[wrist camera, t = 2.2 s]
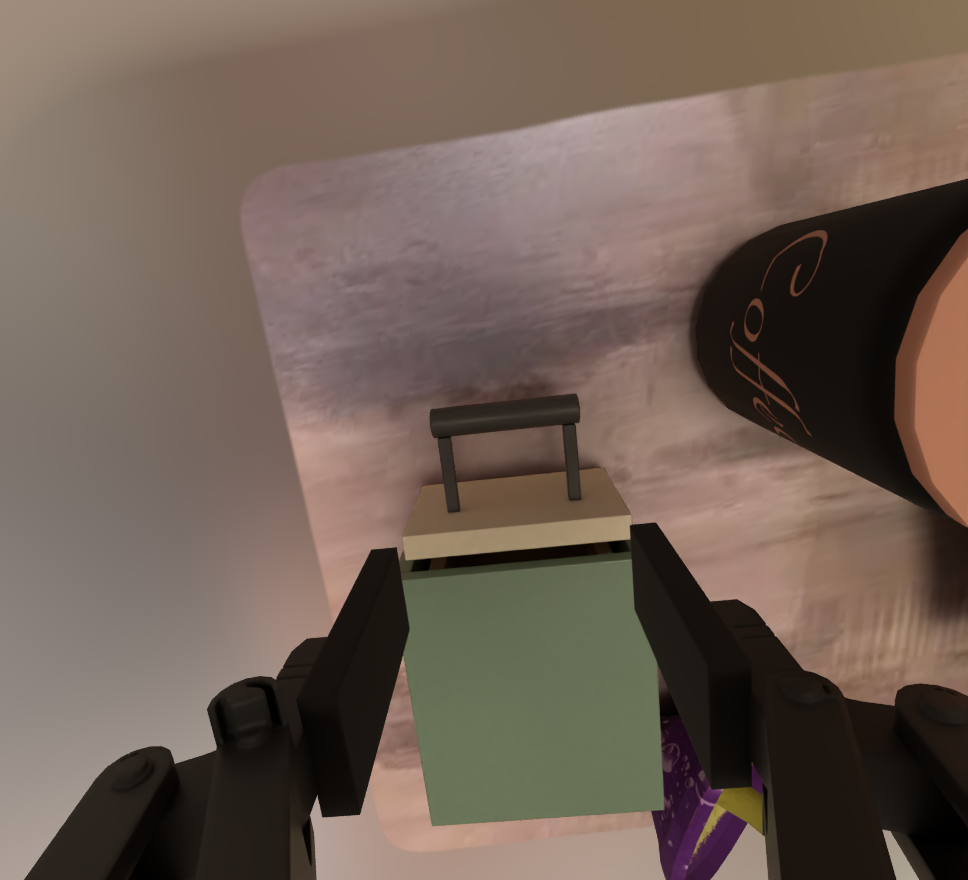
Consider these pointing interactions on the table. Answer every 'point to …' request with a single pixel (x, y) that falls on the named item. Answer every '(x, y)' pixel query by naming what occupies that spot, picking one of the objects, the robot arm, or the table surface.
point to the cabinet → (532, 689)
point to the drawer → (514, 496)
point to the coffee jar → (855, 341)
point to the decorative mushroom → (698, 810)
